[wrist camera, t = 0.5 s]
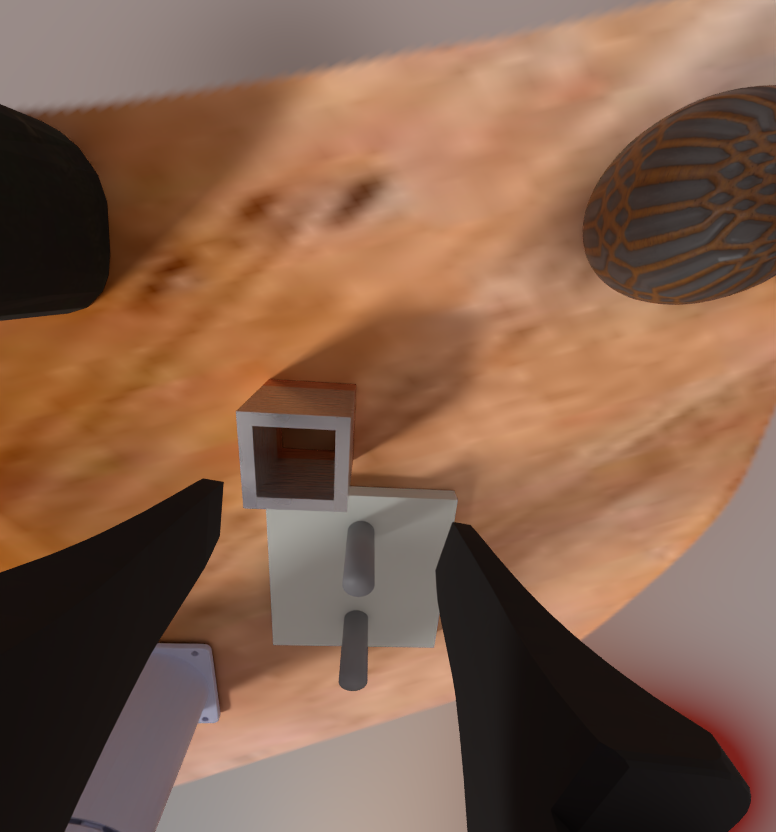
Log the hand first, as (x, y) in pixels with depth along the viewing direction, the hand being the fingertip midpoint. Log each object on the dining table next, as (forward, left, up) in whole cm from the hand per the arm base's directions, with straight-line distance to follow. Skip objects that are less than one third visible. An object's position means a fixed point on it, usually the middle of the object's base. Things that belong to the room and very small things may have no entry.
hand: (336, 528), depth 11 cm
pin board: (+1, -10, -10) cm, 14 cm away
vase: (+13, +11, -10) cm, 19 cm away
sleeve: (-2, 0, -10) cm, 10 cm away
